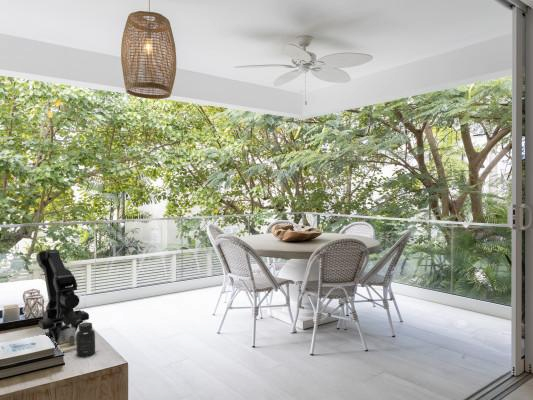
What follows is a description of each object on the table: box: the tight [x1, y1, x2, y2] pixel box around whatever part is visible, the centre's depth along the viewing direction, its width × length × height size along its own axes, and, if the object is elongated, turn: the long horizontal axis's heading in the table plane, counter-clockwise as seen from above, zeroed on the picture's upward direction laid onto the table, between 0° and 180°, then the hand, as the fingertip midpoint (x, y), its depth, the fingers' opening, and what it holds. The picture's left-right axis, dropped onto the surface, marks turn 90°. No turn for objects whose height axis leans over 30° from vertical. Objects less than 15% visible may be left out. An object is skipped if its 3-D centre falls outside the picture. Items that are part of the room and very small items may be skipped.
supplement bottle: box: [75, 322, 96, 358], centre depth 167 cm, size 7×7×12 cm
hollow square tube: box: [56, 324, 77, 346], centre depth 179 cm, size 6×6×6 cm
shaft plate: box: [59, 335, 77, 353], centre depth 174 cm, size 7×10×5 cm
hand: (64, 339), depth 179 cm, fingers closed on hollow square tube, 6 cm apart
